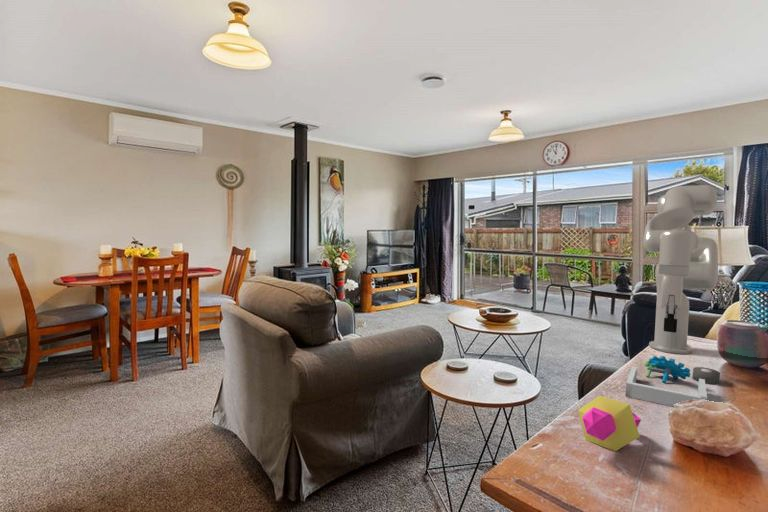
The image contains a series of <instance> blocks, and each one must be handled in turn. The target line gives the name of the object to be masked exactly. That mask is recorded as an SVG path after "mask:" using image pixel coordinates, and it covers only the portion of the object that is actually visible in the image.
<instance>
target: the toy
mask: <svg viewBox="0 0 768 512" xmlns="http://www.w3.org/2000/svg"><path fill="white" fill-rule="evenodd" d="M577 411H578V416H579V419H580V423H581V428H582V431H583V434H584V439H585V441H588V442H590V443H593V444H595V445H597V446H601V447H604V448H606V449H609V450H611V451H614V452H617V451H619V450H620V449H621V448H622V449H623V447H625V446H627V445H628V444H630V443H631V442H633V441H635V440H637V439H639V438H640V437H641V436H640V433H639V429H638V428H639V425H640V424H641V422H642V419H641V418H640V417H639V416H638V415H636V414H635V412H633V411H632V407H631V405H630V403H627V402H622V401H619V400H616V399H613V398H609V397H605V396H602V395H598V396H597V397H595V398H593V400H590V401H589V402H588V403H586V404H585V405H582V407H580V408H579V409H577Z"/></svg>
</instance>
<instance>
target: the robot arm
mask: <svg viewBox="0 0 768 512" xmlns="http://www.w3.org/2000/svg"><path fill="white" fill-rule="evenodd" d="M717 202H718V194H717V190H716V188H715V187H713V186H712V185H710V184H702V185H701V184H700V185H699V184H698V185H680V186H679V185H678V186H674V187H671V188H670V189H668V190H667V192H666V193H665V194H663V195H661V196H660V197H659V198H658V200H657V203H656V213H657V214H655V216H653V217H652V218H650V219H649V220H648V222H647V223H646V225H645V228H644V233H643V240H642V244H643V249H644V250H645V251H646V252H647V253H649V254H650V253H652V254H658V264H656V267H655V270H654V274H655V275H654V276H655V284H656V302H655V303H656V305H655V306H656V307H655V321H654V322H655V323H654V324H655V325H654V326H655V327H654V340H652V341H649V343H648V346H649V347H650V348H652V349H654V350H657V351H660V352H665V353H669V354H680V355H685V354H691V353H693V348H692V347H691V346H689V345H688V333H689V332H688V331H689V318H690V317H689V315H690V300H689V298H688V296H687V295H686V294H685V293H684V292H683V291H684V290H686V289H687V290H699V291H710V290H713V289H715V288H716V287H717V285H718V282H719V281H718V280H719V251H718V249H719V248H718V244H717V242H716V240H714V239H713V238H710V237H705V236H704V237H700V236H698V235H697V234H696V232H694V231H692V227H691V226H690V225H689V224H690V223H691V222H692V221H693V219H694V216H709V215H711V214H712V213H714V211H715V209H716V206H717Z"/></svg>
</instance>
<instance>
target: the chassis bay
mask: <svg viewBox="0 0 768 512" xmlns="http://www.w3.org/2000/svg"><path fill="white" fill-rule="evenodd" d="M637 374H638V367H637V366H631V368H630V372H629V374H628V377H627V380H626V383H625V397H627V396H629V397H628V398H632V397H633V398H632V399H637V400H640V401H641V400H642V401H646V402H649V403H650V402H651V403H655V404H658V405H659V404H660V405H664V406H669V407H672V406H673V405H674V404H676V403H679V402H682V401H686V400H693V399H705V400H707V401H708V394H707V387H706V385H707V384H705V379H699V382H698V384H697V385H698V386H697V387H698V388H697V394H698V395H696V394H692V393H687V392H681V391H676V390H672V389H668V388H667V389H666V388H663V387H662V388H661V387H656V386H652V385H648V384H647V385H646V384H642V383H637V378H638V377H637Z"/></svg>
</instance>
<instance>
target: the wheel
mask: <svg viewBox="0 0 768 512" xmlns="http://www.w3.org/2000/svg"><path fill="white" fill-rule="evenodd" d="M699 379H705V385H714V386H715V385H720V382H721V381H720V379H721V372H720V371H718V370H716V369H712V368H708V367H701V366H700V367H699V366H698V367H696V366H695V367H693V368H692V380H693V381H696V382H698V383H699Z"/></svg>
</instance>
